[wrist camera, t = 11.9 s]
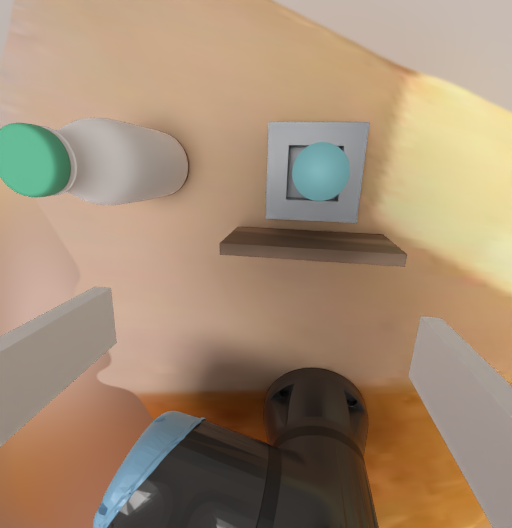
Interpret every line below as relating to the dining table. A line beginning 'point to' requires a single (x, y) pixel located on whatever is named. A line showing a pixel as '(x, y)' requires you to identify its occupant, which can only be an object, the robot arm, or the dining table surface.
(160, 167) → the milk bottle
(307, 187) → the peg
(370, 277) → the dining table surface
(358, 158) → the socket block
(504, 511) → the robot arm
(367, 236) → the wooden cutting board
